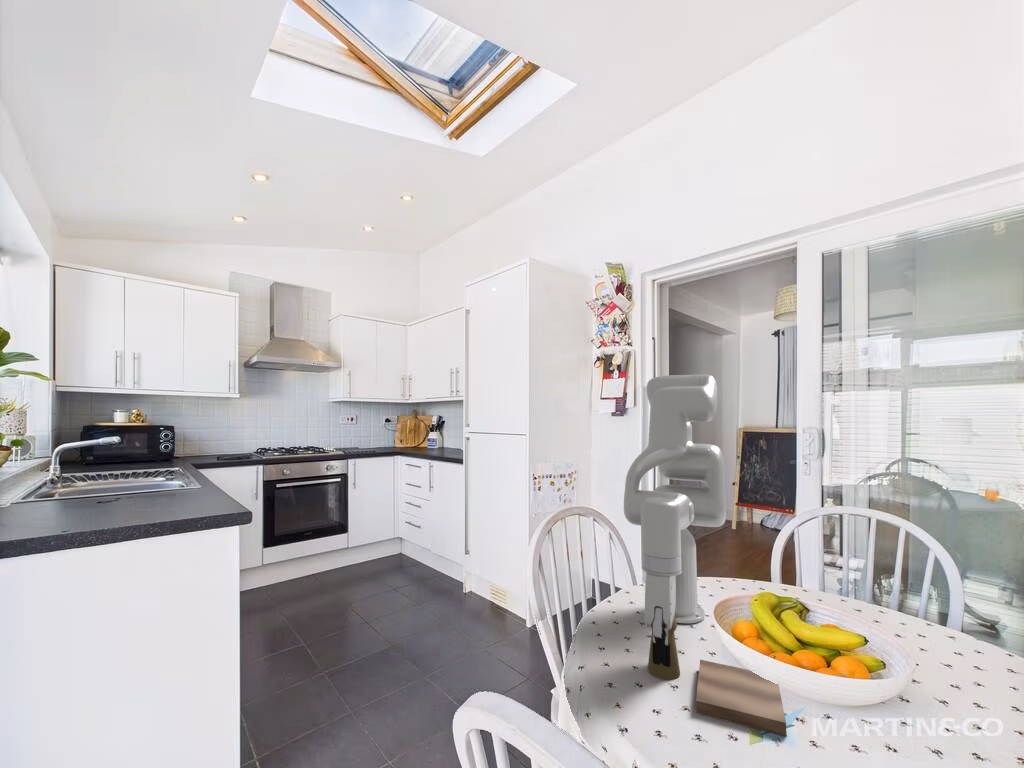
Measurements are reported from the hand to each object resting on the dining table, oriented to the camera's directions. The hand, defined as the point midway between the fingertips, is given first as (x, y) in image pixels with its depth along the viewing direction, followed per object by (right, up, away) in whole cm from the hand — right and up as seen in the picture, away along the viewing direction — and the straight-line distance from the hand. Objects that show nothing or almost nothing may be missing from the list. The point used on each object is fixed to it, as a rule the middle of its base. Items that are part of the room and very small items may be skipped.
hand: (663, 657), depth 89 cm
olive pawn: (0, -3, 0) cm, 3 cm away
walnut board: (+10, -2, -9) cm, 14 cm away
